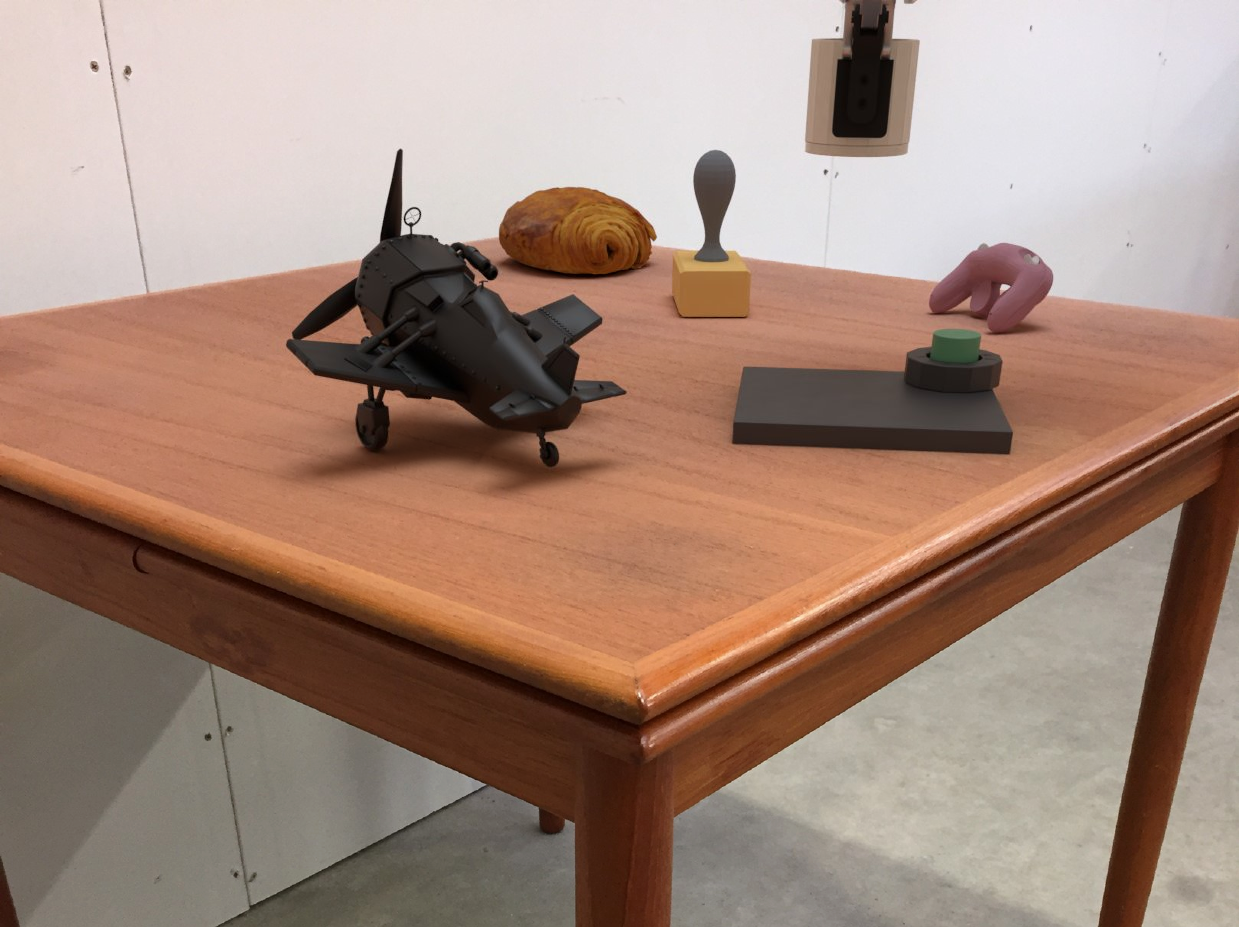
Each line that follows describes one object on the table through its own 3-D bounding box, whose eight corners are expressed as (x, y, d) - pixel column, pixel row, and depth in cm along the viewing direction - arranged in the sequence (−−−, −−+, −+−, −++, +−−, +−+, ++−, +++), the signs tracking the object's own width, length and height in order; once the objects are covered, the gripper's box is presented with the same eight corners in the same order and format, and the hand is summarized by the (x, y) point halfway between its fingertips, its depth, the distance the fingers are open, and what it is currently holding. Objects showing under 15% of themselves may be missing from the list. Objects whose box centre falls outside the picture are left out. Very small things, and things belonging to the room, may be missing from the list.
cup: (905, 148, 85) (916, 38, 82) (909, 158, 80) (922, 41, 76) (805, 146, 86) (812, 37, 82) (803, 156, 80) (810, 40, 77)
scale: (989, 394, 89) (995, 347, 88) (1017, 456, 77) (1026, 403, 76) (742, 385, 91) (744, 339, 89) (732, 445, 79) (734, 393, 77)
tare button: (974, 357, 87) (978, 329, 86) (979, 368, 84) (983, 339, 84) (927, 356, 87) (931, 327, 86) (931, 366, 85) (935, 337, 84)
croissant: (547, 306, 125) (548, 215, 120) (479, 257, 135) (477, 171, 130) (680, 288, 131) (687, 201, 126) (605, 242, 141) (608, 160, 136)
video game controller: (1028, 351, 107) (1074, 265, 105) (988, 328, 105) (1035, 240, 102) (957, 327, 115) (999, 247, 113) (919, 305, 112) (961, 222, 110)
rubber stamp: (749, 317, 111) (757, 155, 104) (679, 317, 110) (683, 155, 104) (736, 295, 119) (743, 144, 113) (671, 295, 119) (675, 144, 113)
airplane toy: (510, 386, 90) (500, 133, 82) (711, 448, 78) (722, 158, 70) (241, 441, 79) (199, 154, 71) (426, 523, 67) (401, 188, 59)
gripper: (974, -268, 65) (928, 146, 74) (949, -219, 79) (913, 122, 89) (818, -265, 66) (792, 144, 75) (822, -217, 80) (800, 120, 90)
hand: (858, 129), depth 82 cm, fingers closed on cup, 6 cm apart
